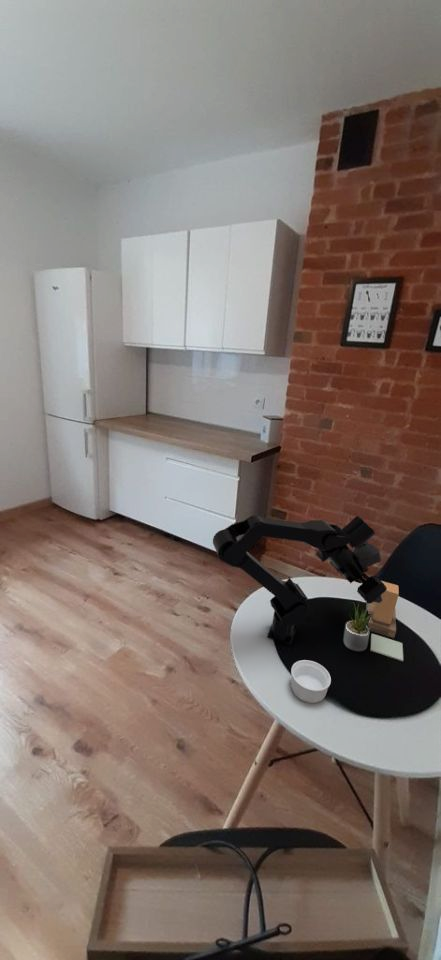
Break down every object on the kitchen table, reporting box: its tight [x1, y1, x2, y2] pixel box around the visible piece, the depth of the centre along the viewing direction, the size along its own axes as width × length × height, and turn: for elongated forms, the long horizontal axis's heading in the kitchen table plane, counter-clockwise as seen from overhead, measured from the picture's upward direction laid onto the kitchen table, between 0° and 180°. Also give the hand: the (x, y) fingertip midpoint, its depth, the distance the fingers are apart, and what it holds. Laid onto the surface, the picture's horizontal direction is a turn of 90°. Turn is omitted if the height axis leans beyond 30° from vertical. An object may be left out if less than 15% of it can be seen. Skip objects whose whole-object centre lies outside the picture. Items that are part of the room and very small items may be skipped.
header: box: [365, 601, 397, 639], centre depth 117 cm, size 16×8×2 cm, turn 158°
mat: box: [370, 633, 404, 662], centre depth 105 cm, size 7×8×1 cm
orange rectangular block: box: [373, 580, 400, 625], centre depth 112 cm, size 5×5×13 cm
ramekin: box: [290, 659, 332, 704], centre depth 89 cm, size 9×9×4 cm
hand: (370, 591), depth 108 cm, fingers open, 9 cm apart
